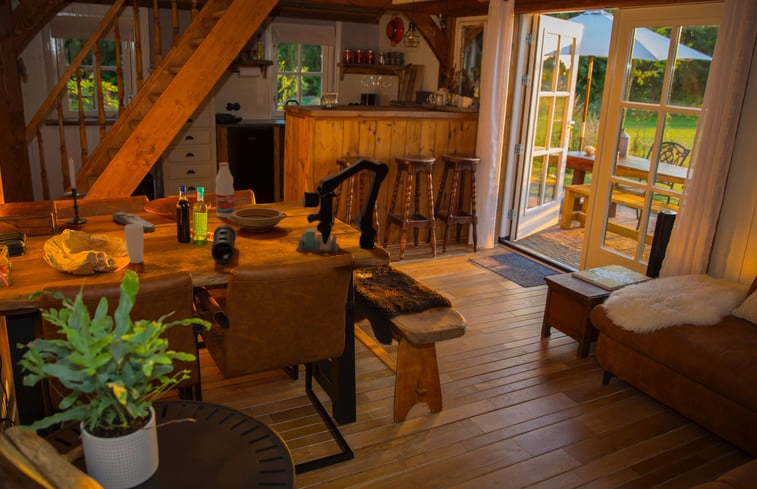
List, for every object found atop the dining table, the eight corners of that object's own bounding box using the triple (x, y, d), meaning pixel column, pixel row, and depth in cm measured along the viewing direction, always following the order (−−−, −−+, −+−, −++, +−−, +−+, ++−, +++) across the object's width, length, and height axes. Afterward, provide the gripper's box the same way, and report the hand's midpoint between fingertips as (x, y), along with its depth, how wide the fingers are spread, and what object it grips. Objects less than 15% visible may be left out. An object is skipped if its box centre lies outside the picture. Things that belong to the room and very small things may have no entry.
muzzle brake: (211, 266, 241) (210, 241, 238) (214, 246, 267) (213, 223, 264) (235, 265, 243) (234, 241, 240) (236, 245, 269) (235, 223, 266)
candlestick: (82, 225, 289) (75, 152, 279) (60, 224, 289) (52, 151, 279) (93, 220, 299) (86, 149, 290) (71, 219, 300) (64, 148, 290)
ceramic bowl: (280, 221, 313) (280, 206, 311) (293, 233, 292) (293, 217, 290) (222, 224, 301) (222, 209, 299) (232, 237, 280) (232, 221, 278)
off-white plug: (321, 244, 271) (322, 230, 269) (330, 245, 271) (331, 230, 269) (321, 247, 267) (321, 232, 265) (330, 247, 267) (330, 232, 265)
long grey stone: (141, 236, 281) (160, 234, 288) (141, 226, 279) (161, 223, 286) (106, 218, 302) (126, 216, 310) (106, 208, 301) (126, 206, 308)
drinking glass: (147, 259, 245) (145, 223, 241) (142, 264, 238) (139, 228, 234) (130, 258, 244) (128, 223, 240) (124, 264, 238) (121, 227, 234)
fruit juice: (232, 213, 325) (230, 161, 317) (236, 217, 317) (235, 164, 309) (214, 214, 321) (212, 162, 313) (218, 218, 313) (217, 165, 305)
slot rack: (338, 246, 275) (339, 235, 273) (336, 253, 264) (337, 242, 263) (299, 244, 275) (299, 233, 273) (296, 251, 264) (296, 240, 263)
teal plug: (306, 244, 271) (306, 229, 269) (315, 244, 271) (315, 229, 269) (305, 246, 267) (305, 231, 265) (314, 247, 267) (314, 232, 265)
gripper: (310, 201, 273) (310, 234, 277) (305, 211, 255) (305, 246, 259) (335, 202, 273) (334, 235, 277) (331, 212, 255) (330, 247, 259)
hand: (325, 241), depth 268 cm, fingers open, 9 cm apart
